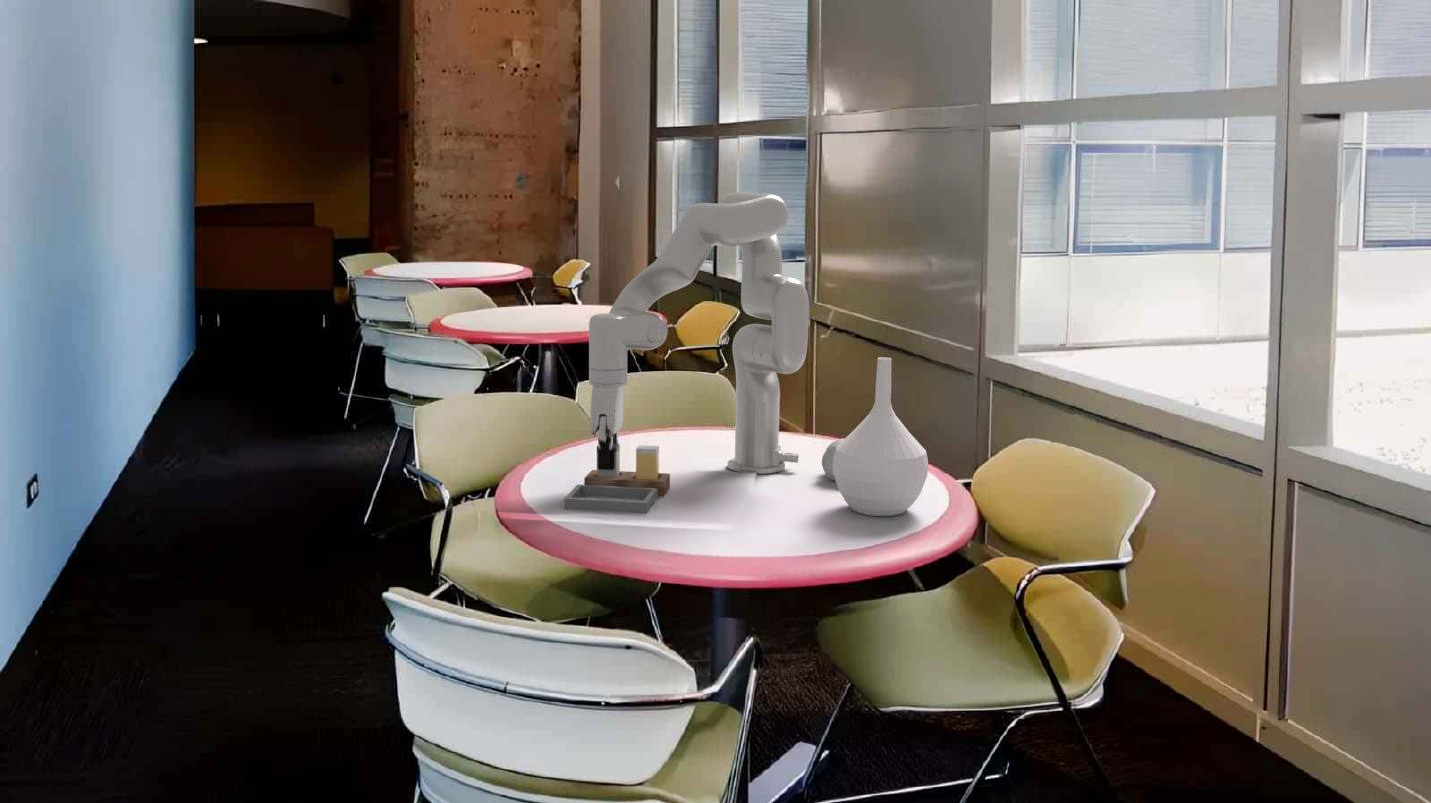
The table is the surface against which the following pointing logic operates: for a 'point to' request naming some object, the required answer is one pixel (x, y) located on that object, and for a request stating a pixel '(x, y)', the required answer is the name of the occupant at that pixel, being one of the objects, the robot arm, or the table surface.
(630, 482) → the block
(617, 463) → the block
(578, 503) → the parts tray
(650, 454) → the block
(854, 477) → the vase
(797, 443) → the table surface
